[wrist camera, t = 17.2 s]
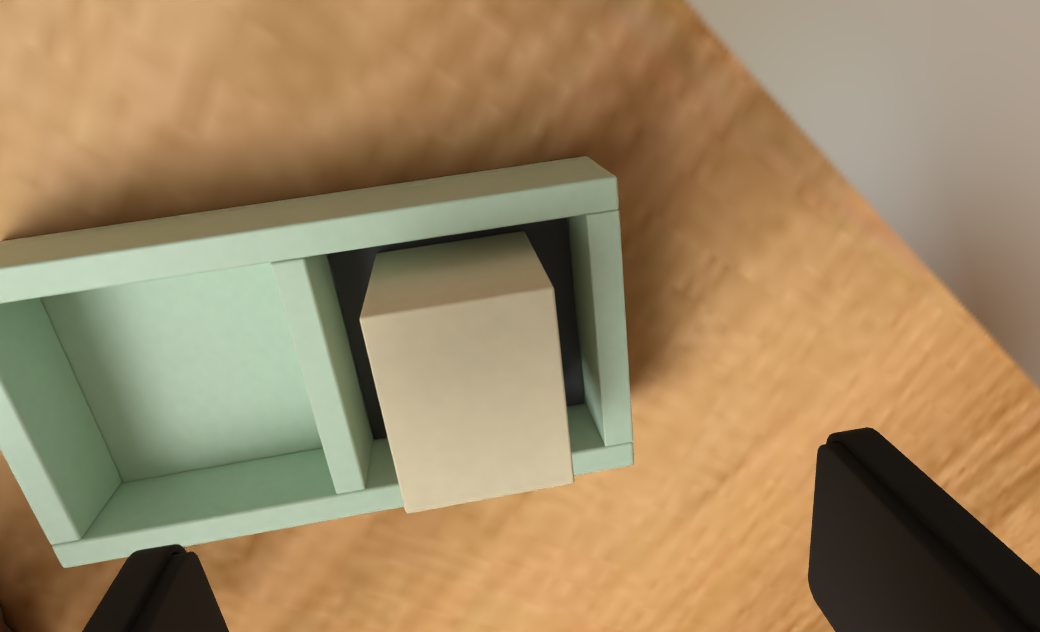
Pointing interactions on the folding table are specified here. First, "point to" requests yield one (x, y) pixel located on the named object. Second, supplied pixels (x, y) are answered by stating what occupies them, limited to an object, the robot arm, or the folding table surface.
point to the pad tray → (268, 354)
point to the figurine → (3, 623)
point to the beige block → (468, 370)
